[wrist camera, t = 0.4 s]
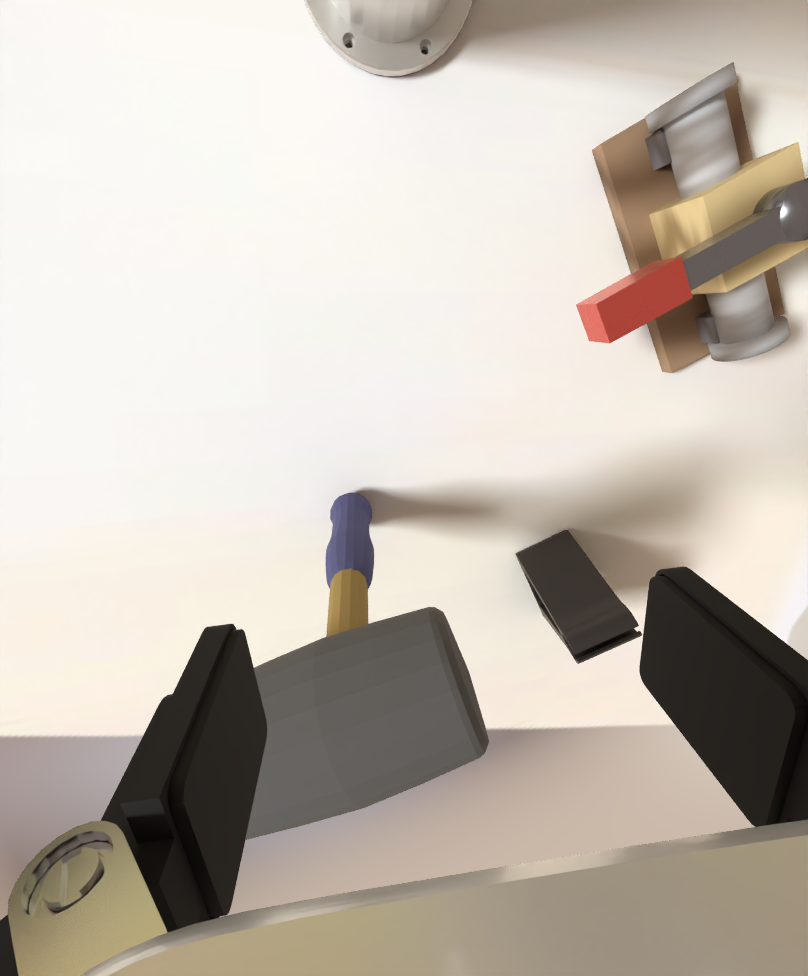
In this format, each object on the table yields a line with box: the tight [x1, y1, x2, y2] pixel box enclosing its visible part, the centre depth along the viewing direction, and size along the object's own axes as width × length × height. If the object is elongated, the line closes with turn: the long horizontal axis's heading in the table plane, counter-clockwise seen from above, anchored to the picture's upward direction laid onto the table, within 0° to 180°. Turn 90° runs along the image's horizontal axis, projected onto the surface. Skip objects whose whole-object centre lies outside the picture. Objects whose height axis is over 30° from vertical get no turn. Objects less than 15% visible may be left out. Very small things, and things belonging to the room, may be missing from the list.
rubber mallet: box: [245, 493, 489, 840], centre depth 33 cm, size 12×8×30 cm, turn 110°
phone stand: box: [516, 530, 642, 664], centre depth 46 cm, size 9×6×12 cm, turn 25°
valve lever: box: [576, 178, 808, 343], centre depth 32 cm, size 16×4×3 cm, turn 118°
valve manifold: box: [592, 62, 808, 373], centre depth 37 cm, size 20×11×9 cm, turn 28°
